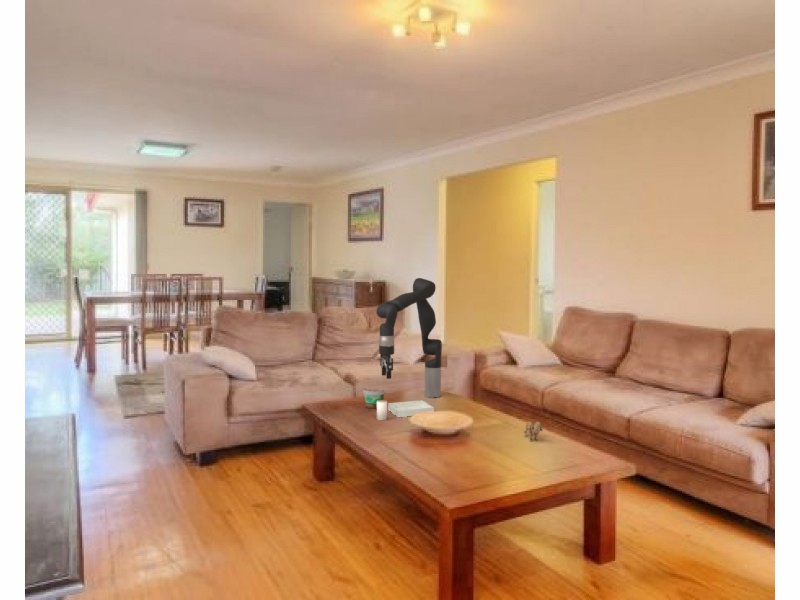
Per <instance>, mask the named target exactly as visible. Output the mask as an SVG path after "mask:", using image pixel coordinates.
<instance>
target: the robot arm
mask: <svg viewBox="0 0 800 600" xmlns="http://www.w3.org/2000/svg"><path fill="white" fill-rule="evenodd" d="M436 287H437V286H436V284H435V283H434V282H433V281H431V280H429V279H426V278H422V277H417V278H415V280H413V284H412V291H411V292H405V293H403V294H402V293H401V294H400V295H398V296H397V297H394V298H393V299H391V300H388V301H385V302H382V303H380V304H379V305H378V306H377V308H376V310H375V311H376V316H378V317H379V318H381V319H386V320H385V322H383V323H381V324H380V325H379V338H378V352H379V355H380V361H379V362H380V363H379V365H380V368H381V375H382V376H384V377H385V376H386V379H388V380H391V379H392V371H394V358H392V357H391V356H392V355H394V354H395V324H396V322H397V321H396V320H397V318H398V312H402V311H403V310H405V309H407V308H409V306H412V305H414V304H416V309H417V314H418V321H419V327H420V333H421V347H422V352H423V354H424V355H426V356H434V358H433V359H429V360H426V361H425V362H424V397H426V398H429V397H430V399H431V398H433V399H434V397H437V398H440V397H441V393H442V390H441V389H442V388H441V387H442V386H441V385H442V351H443V343H442V340H441V339H437V338H436V339H435V338H429V335H430V333H431V332H432V331H433V329H434V328H435V326H436V324H437V319H436V314H435V309H434V308H433V307H432V305H431V304H430V302H429V301H428V299H429V298H431V297H433V295H434V294H435V293H436Z"/></svg>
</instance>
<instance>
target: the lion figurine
mask: <svg viewBox="0 0 800 600" xmlns="http://www.w3.org/2000/svg"><path fill="white" fill-rule="evenodd" d="M544 429H545V428H544V427H543V426H542V425H541V422H540V421H536V422H532V421H527V422H526V424H525V430H524V431H523V433H525V434H524V437H525V438H527V437H528V435H529V442H533V436H534V442H535V441H536V442H538V439H537V437H538V435H539V434H540V433H541V432H543V430H544Z"/></svg>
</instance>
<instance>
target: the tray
mask: <svg viewBox="0 0 800 600" xmlns="http://www.w3.org/2000/svg"><path fill="white" fill-rule="evenodd" d="M387 411H389V412H390V411H391V412H392V413H391V412H390V413H391V414H392V415H393V416H395V415H396V416H397V417H403V418H408V417H407V416H411V415H413V414H415V413H419V412H425V411H434V412H435V407H434V406H432V404H431V405H430V404H429V403H428V402H426V401H424V400H422V399H420V400H411V401H400V402H387ZM396 416H395V417H396ZM397 417H396V418H397Z"/></svg>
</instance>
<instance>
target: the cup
mask: <svg viewBox="0 0 800 600" xmlns="http://www.w3.org/2000/svg"><path fill="white" fill-rule="evenodd" d="M377 419H378V420H377ZM386 419H387V420H388V401H387V400H385V399H383V400H378V401H377V410H376V420H377V421H379V420H384V421H387V420H386Z"/></svg>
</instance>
